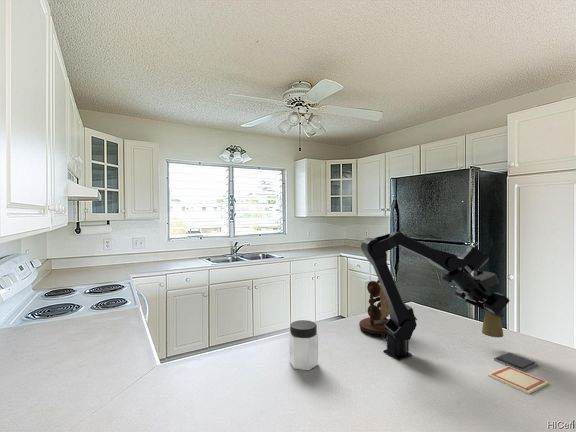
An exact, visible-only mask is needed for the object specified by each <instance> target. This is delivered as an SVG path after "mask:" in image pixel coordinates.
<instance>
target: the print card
mask: <svg viewBox="0 0 576 432" xmlns="http://www.w3.org/2000/svg"><path fill="white" fill-rule="evenodd" d="M487 376H488V377H489V378H492V379H494V380H497V381H498V382H500V383H503V384H505V385H507V386H510V387H512V388H514V389H517V390H518V391H521V392H523V393H525V394H528V395H531V394H533V392H536V391H538V390H540V389H541V388H543V387H546V386H547V385H549V383H550V382H549V381H547V380H545V379H542V378H539V377H537V376H534V375H531V374H530V373H526V371H524V372H522V371H520V370H517V369H515V368H512V367H510V366H507V365H505V366H503V367H501V368H499V369H496V370H494V371H491V372H490V373H487Z"/></svg>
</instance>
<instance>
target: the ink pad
mask: <svg viewBox="0 0 576 432" xmlns="http://www.w3.org/2000/svg"><path fill="white" fill-rule="evenodd" d="M493 361H494V362H497V363H500V364H502V365H504V366H510V367H512V368H515V369H517V370H520V371H522V372H526V371H528V370H531V369H532V368H535V367H537V366H538V362H535V361H533V360H531V359H528V358H525V357H522V356H520V355H517V354H514V353H512V352H506V353H504V354H502V355H498V356H496V357H494V358H493Z"/></svg>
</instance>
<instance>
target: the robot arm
mask: <svg viewBox="0 0 576 432" xmlns="http://www.w3.org/2000/svg"><path fill="white" fill-rule="evenodd" d="M397 246H399V247H400V248H403V249H405V250H407V251H409V252H410V253H411V252H412V253H413V254H416V255H418V256H420V257H422V258H424V259H425V260H426V261H428V262H429V264H431V265H432V266H434V267H436V268H437V269H441V270H443V271H447V272H443V276H442V281H444V282H446V283H451V282H453V283H454V284H455V286H457V288H456V290H455V296H456V297H457V298H458V299H460V300H461V301H465V302H466V303H468V304H470V305H472V306H474V307H477V309H481V310H483V311H485V310H486V311H488V312H490V313H492V314H494V315H497V316H499V317H501V319H503V317H504V316H505V315H504V313H503V309H505V307H506V306H507V305H508V304H509V302H510V298H508V297H507V295H505V294H502V293H499V292H492V293H490V294H489V292H490V291H491V289H490V288H491V287H493V286H495V285H498V284H500V281H499V278H498V277H497V274H496V273H495V272H490V271H481V270H480V269H481V268H482V267H483V266H484V265H485V264H486V263H487V262H488V261H489V259H490V258H489V256H488V255H487V254H486V253H485V252H484V251H482V250H480V249H478V248H477V247H475V246H472V245H469V246H468V247H467V249H466V250H465V251H464V252H463V254H462V255H460V256H458V255H456V254H454V253H451V252H447V251H443V250H440V249H436V248H433V247H431V246H429V245H426V244H424V243H422V242H420V241H418V240H415V238H414V239H413V238H411V237H409V236H408V235H405V234H404V233H403V232H400V231H391V232H390V233H386V234H383V235H380V236H376V237H367V238H365V239H364V240H362V242H361V245H360V249H361V251H362V253H363V254H364V256H365V258H366V259H367V261H368V262H369V263H370V264H371V265H372V267H373V269H374V272H375V274H376V277H377V280H379V282H380V284H381V286H382V289H383V291H384V294H385V296H386V299H387V301H388V303H389V318H388V319H389V320H388V321H387V322H386V323H385V324H384V328H385V330H386V331H387V332H388V334H386V349H384V350H383V353H384V354H386V355H388V356H390V357H392V358H393V359H396V360H397V361H398V360H399V361H400V360H402V359H406V358H409V357H411V356H413V354H412V353H411V352H410V351H409V350H410V349H409V346H410V345H409V341H411V338H412V335H413V333H414V331H415V330H416V328H417V321H418V318H417V317H416V316H415V313H414V309H413V307H412V306H409V305H408V304H406V303H404V302H403V299H402V297H401V295H400V293H399V290H398V288H397V285H396V282H395V280H394V278H393V275H392V273H391V270H390V267H389V265H388V254H387V252H388V251H391V250H392V249H394V248H395V247H397ZM472 272H473V275H472V274H471V273H472ZM483 304H484V306H483ZM484 307H485V308H484Z"/></svg>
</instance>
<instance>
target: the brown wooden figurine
mask: <svg viewBox="0 0 576 432" xmlns="http://www.w3.org/2000/svg"><path fill="white" fill-rule="evenodd" d="M366 289H367V292H368V293H369V298H368V304H369V306H368V307H367V315H368V317H365V318H363V319H361V320H359V323H358V324H359V325H358V326H359V329H360V331H364V332H366V333H371V334H375V335H381V337H382V338H385V335H388V332H387V331H386V330H385V328H384V324H385V323H386V322H387V321H388V320H389V319H390V318H388V317H390V314H389V303H388V301H387V299H386V296H385V294H384V291H383V289H382V286H381V284H380V282H379V279H377V281H375V280H371V281H368V283H367V286H366ZM377 302H378V303H377ZM375 303H377V304H376V305H375Z"/></svg>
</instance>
